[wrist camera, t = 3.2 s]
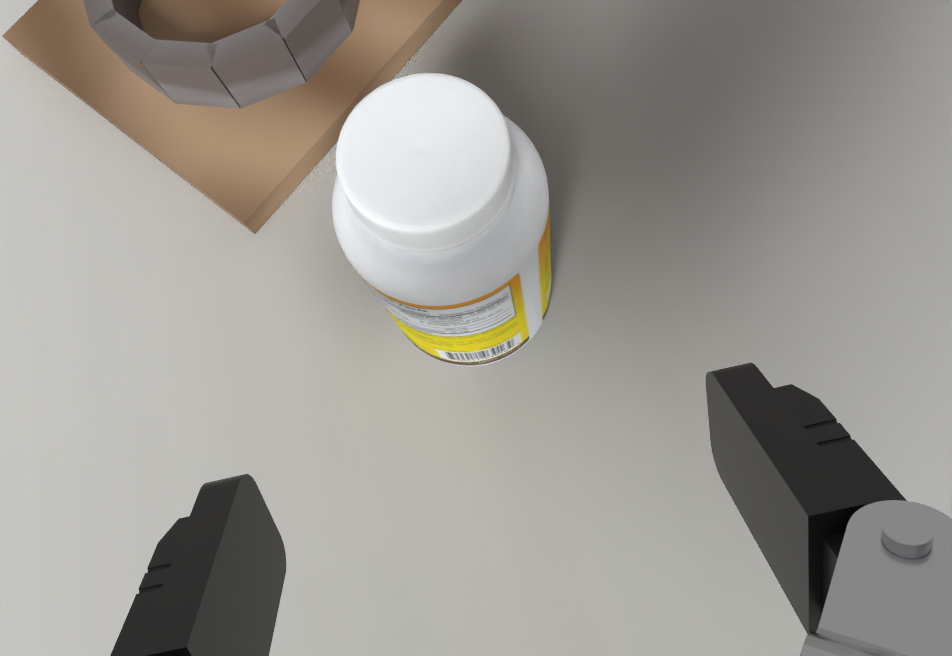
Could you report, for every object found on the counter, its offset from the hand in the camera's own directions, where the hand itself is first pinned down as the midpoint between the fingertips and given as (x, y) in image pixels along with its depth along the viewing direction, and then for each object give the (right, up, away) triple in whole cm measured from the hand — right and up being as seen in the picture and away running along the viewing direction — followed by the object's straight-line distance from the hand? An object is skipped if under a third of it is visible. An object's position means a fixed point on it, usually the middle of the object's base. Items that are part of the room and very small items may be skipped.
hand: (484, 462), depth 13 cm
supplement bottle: (0, +4, +13) cm, 14 cm away
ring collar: (-9, +15, +18) cm, 25 cm away
